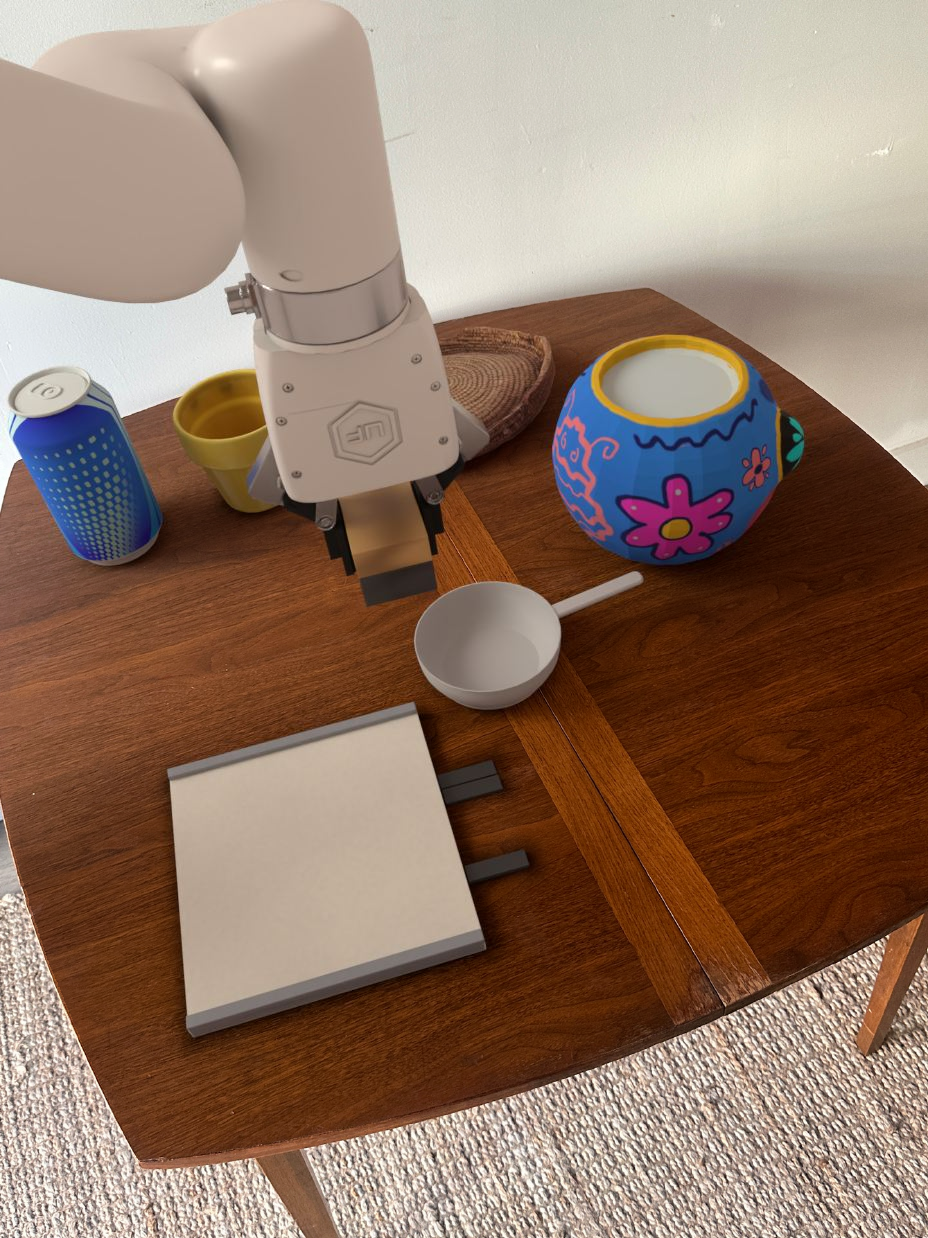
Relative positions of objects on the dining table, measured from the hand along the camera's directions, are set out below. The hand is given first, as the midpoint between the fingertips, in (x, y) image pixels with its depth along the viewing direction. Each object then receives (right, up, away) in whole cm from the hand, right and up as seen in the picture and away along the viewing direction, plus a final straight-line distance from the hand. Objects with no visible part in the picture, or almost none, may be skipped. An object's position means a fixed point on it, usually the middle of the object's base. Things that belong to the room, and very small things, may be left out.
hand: (388, 548), depth 64 cm
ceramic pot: (+21, +3, +21) cm, 30 cm away
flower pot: (-14, +7, +30) cm, 34 cm away
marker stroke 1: (+5, -15, +6) cm, 17 cm away
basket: (+3, +16, +35) cm, 38 cm away
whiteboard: (-5, -20, +3) cm, 21 cm away
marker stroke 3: (+7, -20, +1) cm, 22 cm away
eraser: (0, 0, 0) cm, 1 cm away
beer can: (-26, +3, +27) cm, 38 cm away
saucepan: (+10, -7, +13) cm, 18 cm away
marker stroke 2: (+5, -16, +5) cm, 18 cm away
